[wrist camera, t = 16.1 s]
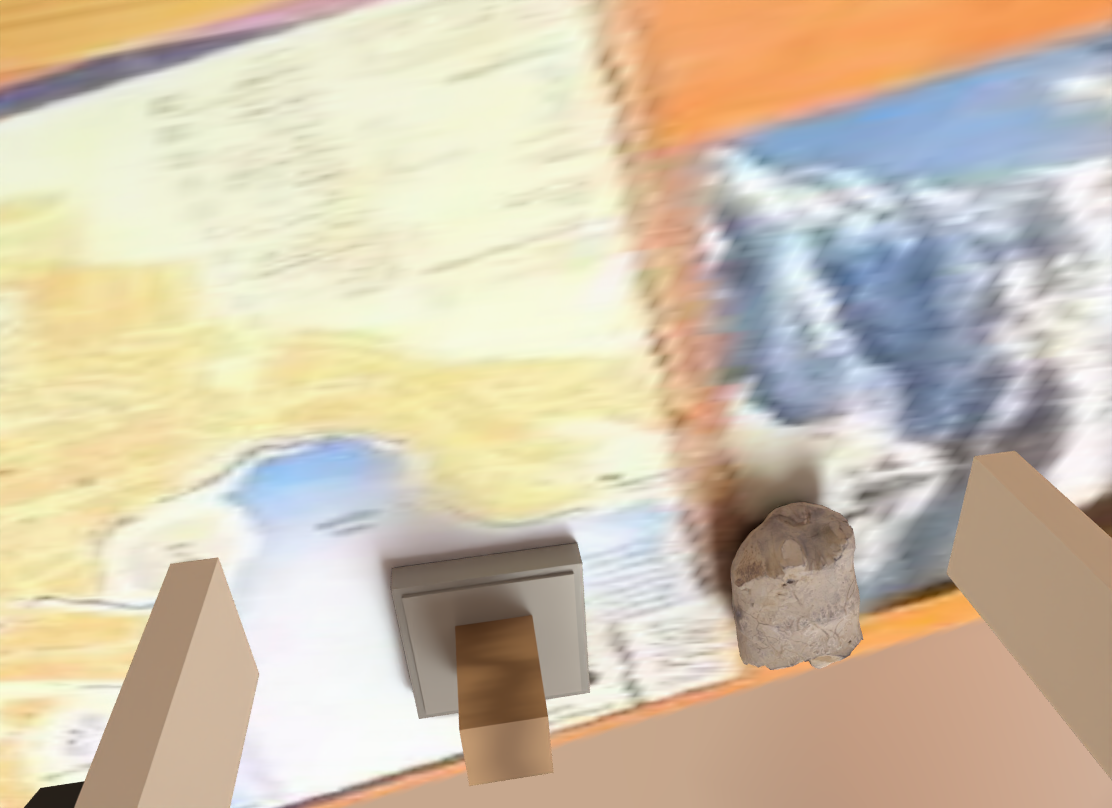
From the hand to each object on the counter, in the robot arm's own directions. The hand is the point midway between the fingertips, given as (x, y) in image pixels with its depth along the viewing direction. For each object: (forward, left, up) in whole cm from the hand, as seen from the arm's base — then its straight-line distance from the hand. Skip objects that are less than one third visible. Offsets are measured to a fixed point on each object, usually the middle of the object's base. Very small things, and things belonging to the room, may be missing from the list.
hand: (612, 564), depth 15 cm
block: (-3, -32, -28) cm, 43 cm away
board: (-3, -32, -31) cm, 44 cm away
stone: (+17, -29, -31) cm, 46 cm away
